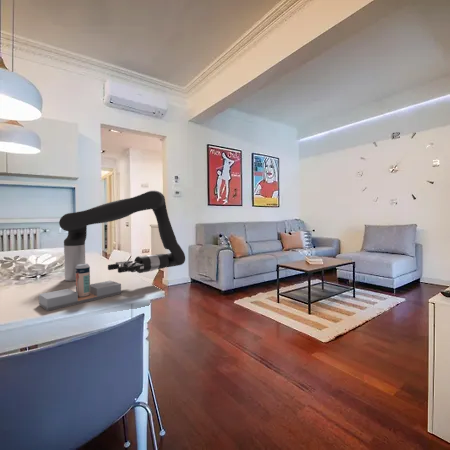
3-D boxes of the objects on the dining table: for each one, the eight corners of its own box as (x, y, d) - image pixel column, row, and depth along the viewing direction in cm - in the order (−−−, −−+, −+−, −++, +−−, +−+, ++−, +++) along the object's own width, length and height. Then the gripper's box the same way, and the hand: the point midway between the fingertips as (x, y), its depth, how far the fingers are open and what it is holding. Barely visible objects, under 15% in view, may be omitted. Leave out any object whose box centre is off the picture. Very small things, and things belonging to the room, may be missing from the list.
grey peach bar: (39, 305, 95) (38, 294, 95) (110, 289, 115) (110, 280, 115) (47, 311, 89) (47, 299, 89) (121, 293, 109) (120, 283, 109)
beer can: (79, 294, 104) (78, 263, 104) (92, 293, 105) (91, 263, 104) (73, 297, 100) (72, 265, 99) (87, 297, 100) (86, 265, 100)
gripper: (138, 253, 128) (104, 258, 115) (156, 256, 118) (121, 261, 106) (138, 269, 128) (105, 275, 116) (156, 273, 119) (121, 280, 106)
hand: (113, 268), depth 111 cm, fingers open, 8 cm apart
